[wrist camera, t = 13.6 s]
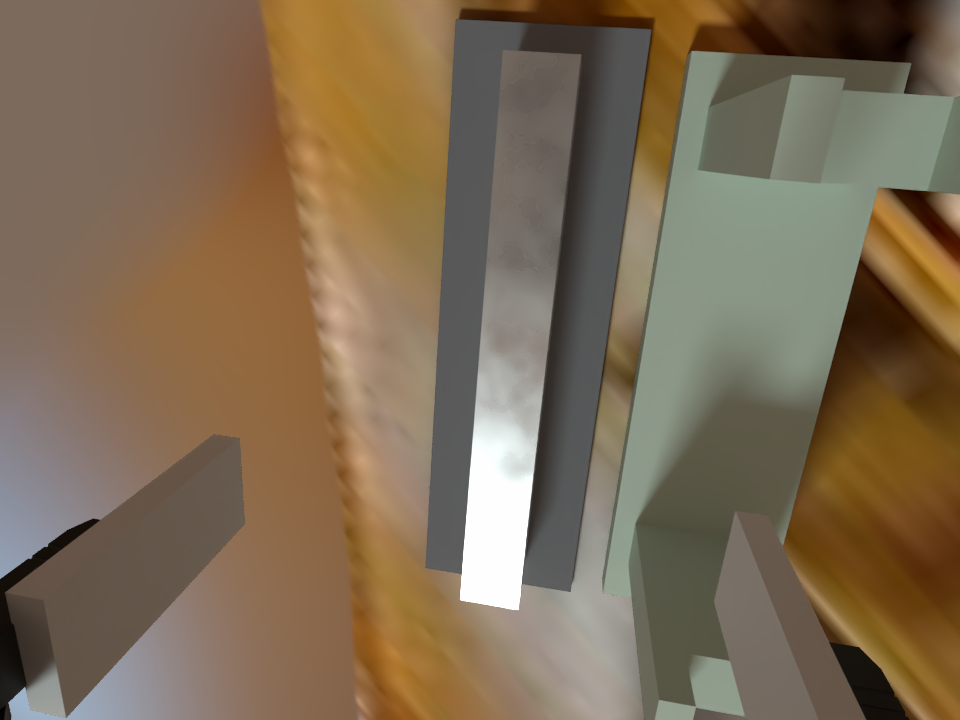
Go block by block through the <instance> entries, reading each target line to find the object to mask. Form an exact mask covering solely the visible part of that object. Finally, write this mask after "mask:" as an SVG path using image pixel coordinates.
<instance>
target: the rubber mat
mask: <svg viewBox="0 0 960 720" xmlns="http://www.w3.org/2000/svg"><path fill="white" fill-rule="evenodd" d="M651 30H652V29H635V28H616V27H596V26H577V25H558V24H539V23H520V22H500V21H481V20H462V19H456V24H455V42H454V60H453V79H452V97H451V115H450V133H449V151H448V169H447V188H446V206H445V224H444V242H443V260H442V278H441V297H440V315H439V333H438V351H437V369H436V387H435V406H434V424H433V442H432V460H431V478H430V496H429V514H428V533H427V551H426V568H429V569H435V570H441V571H447V572H453V573H459V574H462V571H463V558H464V546H465V533H466V520H467V507H468V494H469V481H470V468H471V455H472V442H473V429H474V416H475V403H476V391H477V378H478V365H479V352H480V339H481V326H482V313H483V300H484V287H485V274H486V261H487V248H488V236H489V223H490V210H491V197H492V184H493V171H494V158H495V145H496V132H497V119H498V106H499V94H500V81H501V68H502V55H503V50H513V51H530V52H547V53H564V54H581V62H582V72H581V80H580V89H579V98H578V107H577V115H576V124H575V133H574V142H573V150H572V159H571V168H570V176H569V185H568V194H567V203H566V211H565V220H564V229H563V238H562V246H561V255H560V264H559V272H558V281H557V290H556V299H555V307H554V316H553V325H552V333H551V342H550V351H549V360H548V368H547V377H546V386H545V395H544V403H543V412H542V421H541V429H540V438H539V447H538V456H537V464H536V473H535V482H534V490H533V499H532V508H531V517H530V525H529V534H528V543H527V552H526V560H525V567H524V573H523V580H522V584H526V585H532V586H538V587H544V588H550V589H556V590H562V591H568V592H570V591H571V585H572V578H573V571H574V564H575V557H576V550H577V543H578V536H579V529H580V522H581V515H582V508H583V501H584V494H585V488H586V481H587V474H588V467H589V460H590V453H591V446H592V439H593V432H594V425H595V418H596V411H597V404H598V397H599V390H600V384H601V377H602V370H603V363H604V356H605V349H606V342H607V335H608V328H609V321H610V314H611V307H612V300H613V293H614V287H615V280H616V273H617V266H618V259H619V252H620V245H621V238H622V231H623V224H624V217H625V210H626V203H627V196H628V189H629V183H630V176H631V169H632V162H633V155H634V148H635V141H636V134H637V127H638V120H639V113H640V106H641V99H642V92H643V86H644V79H645V72H646V65H647V58H648V51H649V44H650V37H651Z"/></svg>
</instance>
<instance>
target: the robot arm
mask: <svg viewBox="0 0 960 720" xmlns="http://www.w3.org/2000/svg"><path fill="white" fill-rule="evenodd" d="M244 524H245V517H244V501H243V484H242V468H241V452H240V438H235V437H229V436H222V435H215V434H214V435H212V436H211V437H210V438H208V439H207V440H206V441H204V442H203V443H202V444H200V445H199V446H198V447H196V448H195V449H194V450H192V451H191V452H190V453H188V454H187V455H186V456H185V457H183V458H182V459H181V460H179V461H178V462H177V463H175V464H174V465H173V466H171V467H170V468H169V469H168V470H166V471H165V472H163V473H162V474H161V475H159V476H158V477H157V478H156V479H154V480H153V481H152V482H150V483H149V484H148V485H146V486H145V487H144V488H142V489H141V490H140V491H138V492H137V493H136V494H135V495H133V496H132V497H131V498H129V499H128V500H127V501H125V502H124V503H123V504H122V505H120V506H119V507H118V508H116V509H115V510H113V511H112V512H111V513H109V514H108V515H107V516H106V517H104V518H103V519H101V520H98V519H91V520H89V521H87V522H84V523H83V524H80V525H78V526H75V527H73V528H71V529H69V530H67V531H66V532H64V533H63V534H61V535H60V536H59V537H57V538H56V539H55V540H53V541H52V542H50V543H49V544H48V547H44V548H42V549H41V550H40V551H38V552H37V553H36V554H34V555H33V557H32V559H27V560H26V561H24V562H23V563H22V564H20V565H19V566H18V567H16V568H15V569H14V570H12V571H11V572H9V573H8V574H7V575H5V576H4V577H3V578H1V579H0V720H11V713H10V708H9V704H8V702H9V701H10V700H11V699H13V698H14V696H16V695H17V694H18V693H19V692H20V691H21V690H22V689H23V688H24V687H25V688H26V692H27V697H28V701H29V706H30V710H32V711H36V712H41V713H45V714H50V715H54V716H59V717H64V718H67V716H68V715H69V714H70V713H71V712H72V711H73V710H74V709H75V708H76V707H77V706H78V704H80V702H81V701H82V700H83V699H84V698H85V697H86V696H87V695H88V694H89V693H90V691H91V690H92V689H93V688H94V687H95V686H96V685H97V684H98V683H99V682H100V681H101V680H102V679H103V677H104V676H105V675H106V674H107V673H108V672H109V671H110V670H111V669H112V668H113V666H115V664H116V663H117V662H118V661H119V660H120V659H121V658H122V656H124V655H125V654H126V652H127V651H128V650H129V649H130V648H131V647H132V646H133V645H134V644H135V643H136V642H137V641H138V639H139V638H140V637H141V636H142V635H143V634H144V633H145V632H146V631H147V630H148V629H149V628H150V626H151V625H152V624H153V623H154V622H155V621H156V620H157V619H158V618H159V617H160V616H161V614H162V613H163V612H164V611H165V610H166V609H167V608H168V607H169V606H170V605H171V604H172V602H173V601H174V600H175V599H176V598H177V597H178V596H179V595H180V594H181V593H182V592H183V591H184V590H185V588H186V587H187V586H188V585H189V584H190V583H191V582H192V581H193V580H194V579H195V578H196V577H197V575H198V574H199V573H200V572H201V571H202V570H203V569H204V568H205V567H206V566H207V565H208V564H209V562H210V561H211V560H212V559H213V558H214V557H215V556H216V555H217V554H218V553H219V552H220V551H221V549H222V548H223V547H224V546H225V545H226V544H227V543H228V542H229V541H230V540H231V539H232V537H233V536H234V535H235V534H236V533H237V532H238V531H239V530H240V529H241V528H242V527H243V526H244ZM714 604H715V607H716V611H717V615H718V619H719V622H720V626H721V630H722V633H723V637H724V641H725V644H726V648H727V652H728V656H729V659H730V663H731V667H732V670H733V674H734V678H735V681H736V685H737V689H738V692H739V696H740V700H741V704H742V707H743V711H744V715H745V718H746V720H909V718H908V717H905V711H904V709H903V708H902V706H901V704H900V702H899V700H898V699H897V697H894V691H893V690H892V688H891V686H890V684H889V682H888V681H887V679H886V677H885V675H884V673H883V672H882V670H881V669H880V668H879V667H878V666H877V665H876V664H875V663H874V662H873V661H872V660H871V659H870V658H869V657H868V656H867V655H866V654H865V653H864V652H863V651H862V650H861V649H860V648H859V647H854V646H848V645H842V644H836V643H831V642H828V639H827V637H826V635H825V633H824V631H823V629H822V627H821V625H820V623H819V621H818V619H817V617H816V615H815V612H814V610H813V608H812V606H811V604H810V602H809V600H808V598H807V596H806V594H805V592H804V590H803V588H802V585H801V583H800V581H799V579H798V577H797V575H796V573H795V571H794V569H793V567H792V565H791V563H790V560H789V558H788V556H787V554H786V552H785V550H784V548H783V546H782V544H781V542H780V540H779V538H778V536H777V533H776V531H775V529H774V527H773V525H772V523H771V521H770V519H769V517H768V515H762V514H755V513H748V512H741V511H735V515H734V519H733V523H732V527H731V532H730V536H729V540H728V544H727V548H726V553H725V557H724V561H723V565H722V570H721V574H720V578H719V582H718V587H717V591H716V595H715V599H714Z"/></svg>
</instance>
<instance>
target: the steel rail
mask: <svg viewBox="0 0 960 720" xmlns="http://www.w3.org/2000/svg"><path fill="white" fill-rule="evenodd" d="M581 72H582V62H581V54H564V53H547V52H530V51H513V50H503V55H502V68H501V81H500V94H499V106H498V119H497V132H496V145H495V158H494V171H493V184H492V197H491V210H490V223H489V236H488V248H487V261H486V274H485V287H484V300H483V313H482V326H481V339H480V352H479V365H478V378H477V391H476V403H475V416H474V429H473V442H472V455H471V468H470V481H469V494H468V507H467V520H466V533H465V546H464V558H463V571H462V584H461V597H460V600H464V601H470V602H476V603H482V604H487V605H493V606H499V607H505V608H511V609H517V610H518V607H519V600H520V594H521V587H522V580H523V573H524V567H525V560H526V552H527V543H528V534H529V525H530V517H531V508H532V499H533V490H534V482H535V473H536V464H537V456H538V447H539V438H540V429H541V421H542V412H543V403H544V395H545V386H546V377H547V368H548V360H549V351H550V342H551V333H552V325H553V316H554V307H555V299H556V290H557V281H558V272H559V264H560V255H561V246H562V238H563V229H564V220H565V211H566V203H567V194H568V185H569V176H570V168H571V159H572V150H573V142H574V133H575V124H576V115H577V107H578V98H579V89H580V80H581Z"/></svg>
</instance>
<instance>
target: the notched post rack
mask: <svg viewBox="0 0 960 720" xmlns="http://www.w3.org/2000/svg"><path fill="white" fill-rule="evenodd" d="M910 67H911V63H900V62H882V61H864V60H847V59H829V58H811V57H793V56H775V55H757V54H739V53H721V52H703V51H691V52H690V53H689V54H688V55H687V60H686V66H685V72H684V79H683V85H682V91H681V97H680V103H679V109H678V115H677V122H676V128H675V134H674V140H673V146H672V152H671V159H670V165H669V171H668V177H667V183H666V189H665V196H664V202H663V208H662V214H661V220H660V226H659V232H658V239H657V245H656V251H655V257H654V263H653V269H652V276H651V282H650V288H649V294H648V300H647V306H646V312H645V319H644V325H643V331H642V337H641V343H640V349H639V356H638V362H637V368H636V374H635V380H634V386H633V393H632V399H631V405H630V411H629V417H628V423H627V429H626V436H625V442H624V448H623V454H622V460H621V466H620V473H619V479H618V485H617V491H616V497H615V503H614V510H613V516H612V522H611V528H610V534H609V540H608V546H607V553H606V559H605V565H604V571H603V577H602V585H603V593H604V594H610V595H616V596H622V597H628V598H632V607H633V616H634V626H635V636H636V645H637V655H638V665H639V674H640V684H641V694H642V703H643V713H644V720H693V717H694V713H695V709H696V708H701V709H707V710H712V711H717V712H723V713H728V714H734V715H739V716H745V715H744V711H743V707H742V704H741V700H740V696H739V692H738V689H737V685H736V681H735V678H734V674H733V670H732V667H731V663H730V659H729V656H728V652H727V648H726V644H725V641H724V637H723V633H722V630H721V626H720V622H719V619H718V615H717V611H716V607H715V604H714V599H715V595H716V591H717V587H718V582H719V578H720V574H721V570H722V565H723V561H724V557H725V553H726V548H727V544H728V540H729V536H730V532H731V527H732V523H733V519H734V515H735V511H741V512H748V513H755V514H762V515H768V517H769V519H770V521H771V523H772V525H773V527H774V529H775V531H776V533H777V536H778V538H779V540H780V542H781V544H782V546H783V543H784V540H785V536H786V532H787V528H788V525H789V521H790V517H791V513H792V510H793V506H794V502H795V498H796V495H797V491H798V487H799V483H800V480H801V476H802V472H803V468H804V465H805V461H806V457H807V453H808V450H809V446H810V442H811V438H812V435H813V431H814V427H815V423H816V419H817V416H818V412H819V408H820V404H821V401H822V397H823V393H824V389H825V386H826V382H827V378H828V374H829V371H830V367H831V363H832V359H833V356H834V352H835V348H836V344H837V341H838V337H839V333H840V329H841V326H842V322H843V318H844V314H845V311H846V307H847V303H848V299H849V296H850V292H851V288H852V284H853V281H854V277H855V273H856V269H857V266H858V262H859V258H860V254H861V251H862V247H863V243H864V239H865V236H866V232H867V228H868V224H869V221H870V217H871V213H872V209H873V206H874V202H875V198H876V194H877V191H878V187H884V188H897V189H909V190H922V191H933V192H943V193H952V194H960V96H959V97H944V96H928V95H912V94H903V93H904V89H905V85H906V82H907V78H908V74H909V70H910Z"/></svg>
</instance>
